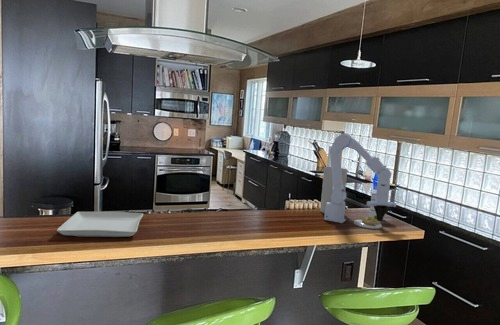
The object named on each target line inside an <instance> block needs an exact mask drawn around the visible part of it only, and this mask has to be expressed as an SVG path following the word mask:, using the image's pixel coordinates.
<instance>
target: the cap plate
mask: <svg viewBox="0 0 500 325" xmlns="http://www.w3.org/2000/svg"><path fill="white" fill-rule="evenodd" d="M353 225H355V227H356V226H357V227H358V228H362V229H367V230H381V229H382V228H383V227H382V226H383V225H382V224H381V223H374V224H366V223H363V222H362V219H354V221H353Z"/></svg>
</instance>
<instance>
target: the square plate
mask: <svg viewBox="0 0 500 325" xmlns="http://www.w3.org/2000/svg"><path fill="white" fill-rule="evenodd" d="M143 217H144V213H141V212H124V211H122V212H121V211H77V212H75V213H74V214H73V215H72V216H70V217H69V218H68V219H67V220H66V221H65V222H64V223H62V225H59V227H58V228H57V229H56V231H57V232H58V233H59V234H60V235H63V236H73V237H91V238H92V237H93V238H94V237H95V238H97V237H98V238H99V237H103V238H105V237H108V238H111V237H112V238H118V237H119V238H120V237H121V238H124V237H131V236H134V235H135V234H136V233H137V232H138V228H139V226H140V225H139V224H140V222H141V221H142V218H143Z"/></svg>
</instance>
